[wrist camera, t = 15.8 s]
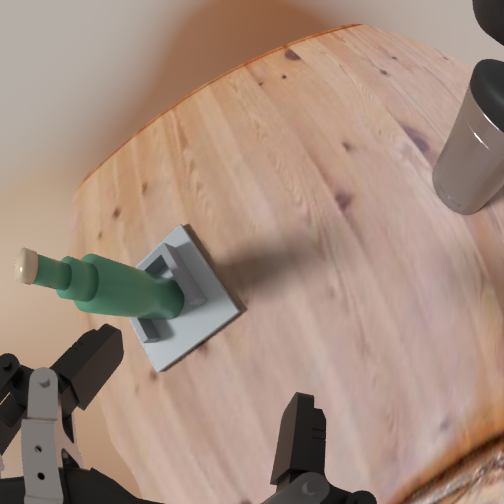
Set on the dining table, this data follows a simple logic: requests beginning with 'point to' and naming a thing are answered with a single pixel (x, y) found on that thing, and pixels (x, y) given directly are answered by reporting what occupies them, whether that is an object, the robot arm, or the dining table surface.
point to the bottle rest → (195, 301)
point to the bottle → (103, 285)
